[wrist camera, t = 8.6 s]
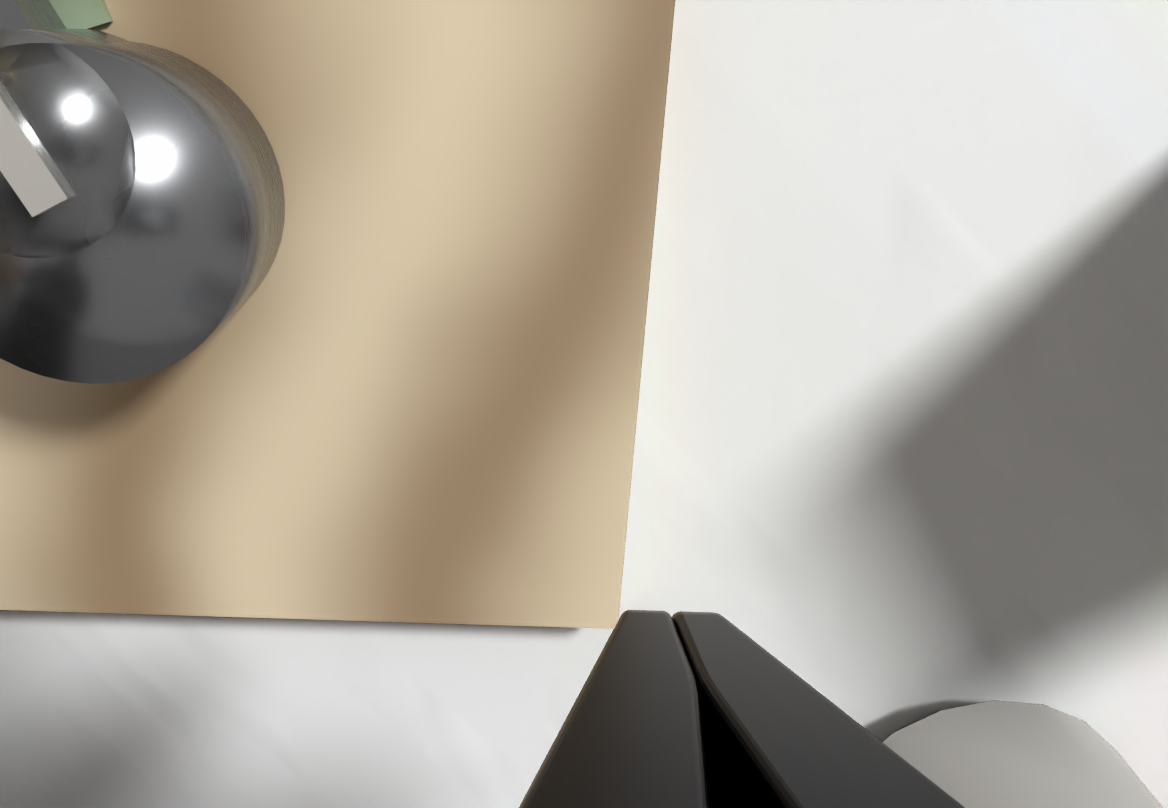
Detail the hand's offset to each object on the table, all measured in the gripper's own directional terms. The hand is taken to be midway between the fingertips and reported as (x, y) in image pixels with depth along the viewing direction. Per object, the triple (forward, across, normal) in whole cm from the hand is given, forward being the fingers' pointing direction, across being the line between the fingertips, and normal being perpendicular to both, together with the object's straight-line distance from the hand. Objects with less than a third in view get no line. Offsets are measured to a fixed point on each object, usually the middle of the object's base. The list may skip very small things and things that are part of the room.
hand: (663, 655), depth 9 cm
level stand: (+12, +8, -2) cm, 15 cm away
